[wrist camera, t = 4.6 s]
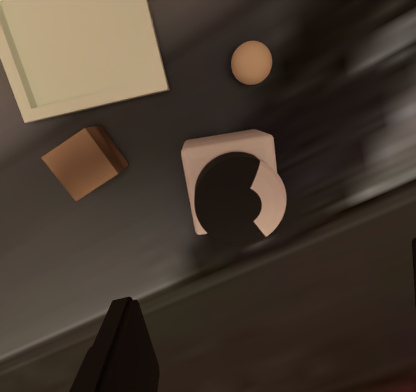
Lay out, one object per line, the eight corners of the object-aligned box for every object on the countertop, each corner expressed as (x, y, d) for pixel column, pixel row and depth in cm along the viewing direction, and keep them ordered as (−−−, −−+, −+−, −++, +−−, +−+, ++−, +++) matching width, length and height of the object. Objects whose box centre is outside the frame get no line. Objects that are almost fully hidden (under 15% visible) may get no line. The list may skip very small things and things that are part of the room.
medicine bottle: (196, 209, 32) (195, 265, 21) (183, 140, 30) (175, 159, 19) (264, 198, 32) (302, 248, 21) (256, 128, 30) (293, 140, 19)
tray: (-24, -37, 26) (-39, -47, 24) (129, -75, 26) (125, -88, 24) (34, 121, 29) (24, 122, 28) (169, 90, 29) (168, 89, 27)
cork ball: (225, 50, 28) (229, 42, 25) (263, 41, 28) (272, 31, 25) (233, 90, 29) (238, 87, 26) (270, 81, 29) (279, 77, 26)
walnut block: (63, 150, 30) (41, 157, 26) (101, 125, 30) (84, 127, 26) (92, 188, 32) (75, 201, 27) (129, 164, 31) (118, 173, 27)
